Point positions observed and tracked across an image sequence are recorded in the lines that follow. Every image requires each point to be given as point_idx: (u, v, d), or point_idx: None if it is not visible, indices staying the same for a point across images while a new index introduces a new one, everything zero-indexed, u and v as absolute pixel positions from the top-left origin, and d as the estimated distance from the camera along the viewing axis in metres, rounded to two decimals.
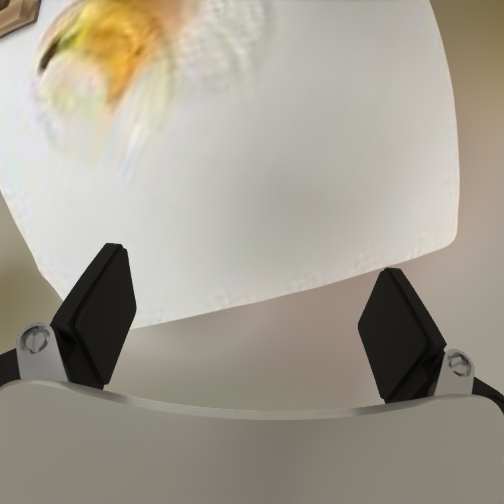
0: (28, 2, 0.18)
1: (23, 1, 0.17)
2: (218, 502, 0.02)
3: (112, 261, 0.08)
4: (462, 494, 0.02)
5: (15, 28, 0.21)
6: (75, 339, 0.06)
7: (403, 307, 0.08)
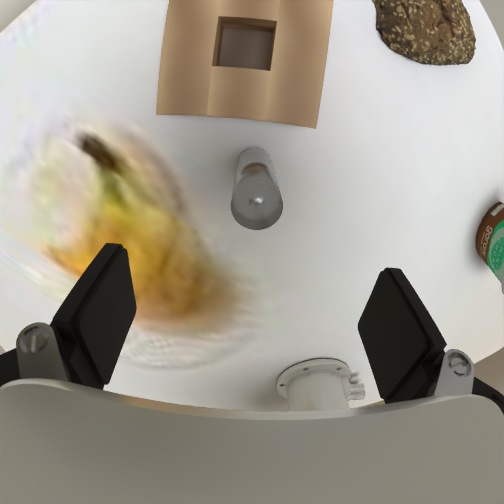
0: None
1: None
2: (218, 502, 0.02)
3: (112, 261, 0.08)
4: (462, 494, 0.02)
5: None
6: (75, 339, 0.06)
7: (403, 307, 0.08)
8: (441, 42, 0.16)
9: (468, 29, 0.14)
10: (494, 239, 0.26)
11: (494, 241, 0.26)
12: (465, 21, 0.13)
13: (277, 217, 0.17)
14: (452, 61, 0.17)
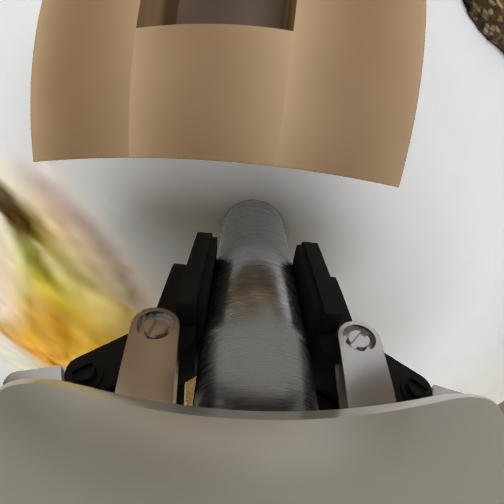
0: None
1: None
2: (218, 502, 0.02)
3: (211, 248, 0.09)
4: (462, 494, 0.02)
5: None
6: (194, 321, 0.07)
7: (306, 277, 0.09)
8: None
9: None
10: None
11: None
12: None
13: None
14: None
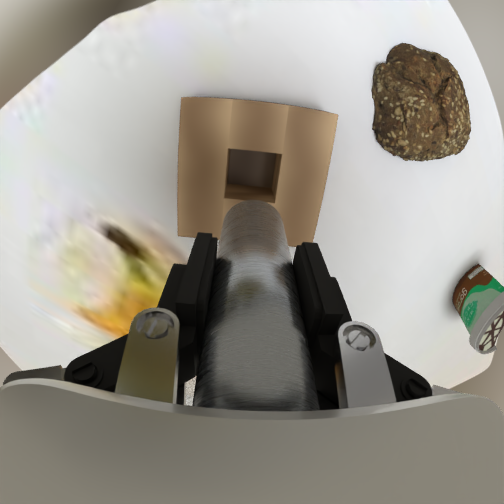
0: None
1: None
2: (218, 502, 0.02)
3: (211, 248, 0.09)
4: (462, 494, 0.02)
5: None
6: (195, 321, 0.07)
7: (306, 277, 0.09)
8: (434, 144, 0.22)
9: (464, 124, 0.20)
10: (467, 301, 0.32)
11: (467, 302, 0.32)
12: (463, 117, 0.19)
13: None
14: (443, 157, 0.23)
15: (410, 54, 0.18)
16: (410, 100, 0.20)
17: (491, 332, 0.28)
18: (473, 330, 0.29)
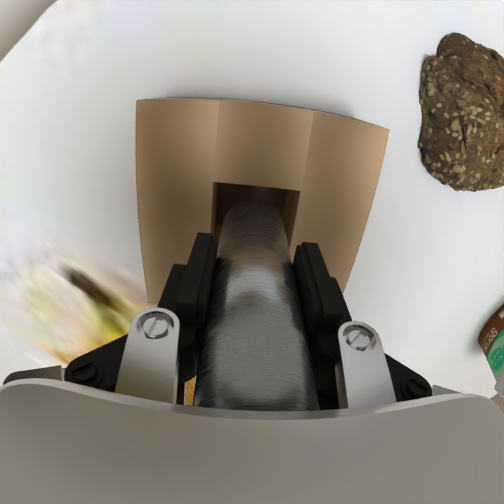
0: None
1: None
2: (218, 502, 0.02)
3: (211, 248, 0.09)
4: (462, 494, 0.02)
5: None
6: (195, 321, 0.07)
7: (306, 277, 0.09)
8: (494, 172, 0.14)
9: None
10: (496, 343, 0.24)
11: (496, 345, 0.24)
12: None
13: None
14: (498, 186, 0.16)
15: (468, 48, 0.11)
16: (472, 112, 0.12)
17: None
18: (501, 378, 0.21)
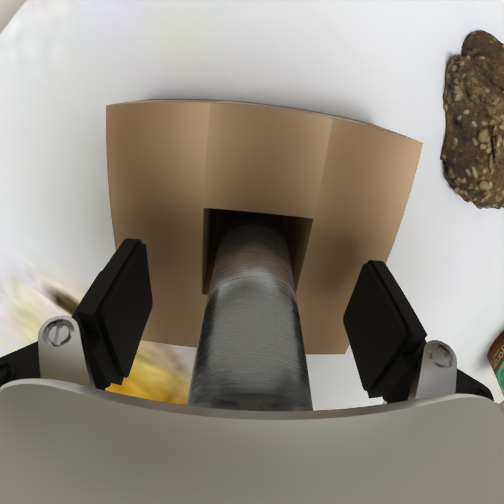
0: None
1: None
2: (218, 502, 0.02)
3: (133, 255, 0.08)
4: (462, 494, 0.02)
5: None
6: (99, 331, 0.06)
7: (383, 298, 0.08)
8: None
9: None
10: None
11: None
12: None
13: None
14: None
15: (496, 48, 0.08)
16: (503, 121, 0.09)
17: None
18: None
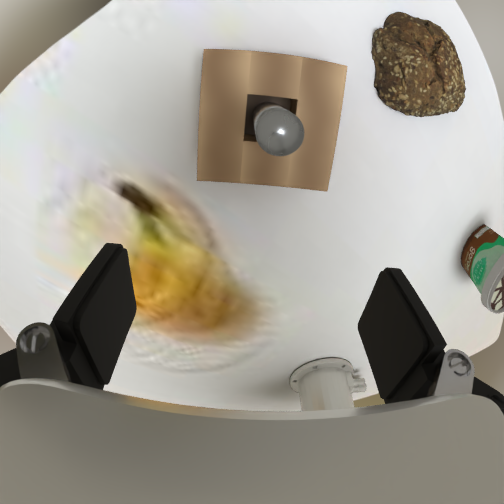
0: None
1: None
2: (218, 502, 0.02)
3: (112, 261, 0.08)
4: (462, 494, 0.02)
5: None
6: (75, 339, 0.06)
7: (403, 307, 0.08)
8: (432, 99, 0.21)
9: (459, 82, 0.20)
10: (476, 259, 0.32)
11: (476, 260, 0.32)
12: (457, 75, 0.19)
13: (299, 144, 0.17)
14: (441, 112, 0.23)
15: (405, 20, 0.18)
16: (407, 59, 0.20)
17: (501, 289, 0.28)
18: (484, 286, 0.29)
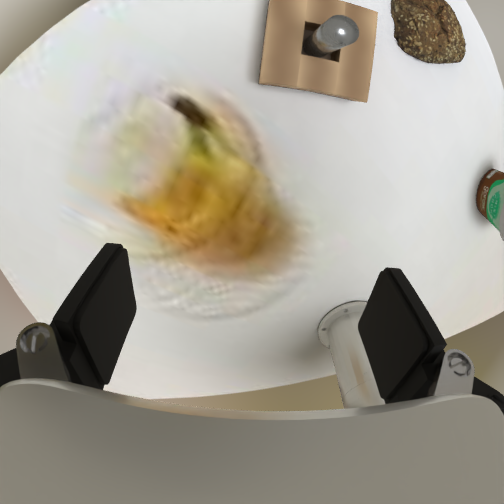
0: (289, 86, 0.27)
1: (291, 86, 0.26)
2: (218, 502, 0.02)
3: (112, 261, 0.08)
4: (462, 494, 0.02)
5: None
6: (75, 339, 0.06)
7: (403, 307, 0.08)
8: (440, 47, 0.23)
9: (460, 37, 0.21)
10: (490, 195, 0.33)
11: (490, 196, 0.33)
12: (457, 31, 0.20)
13: (356, 38, 0.17)
14: (448, 60, 0.24)
15: None
16: (418, 16, 0.21)
17: None
18: (501, 215, 0.30)
